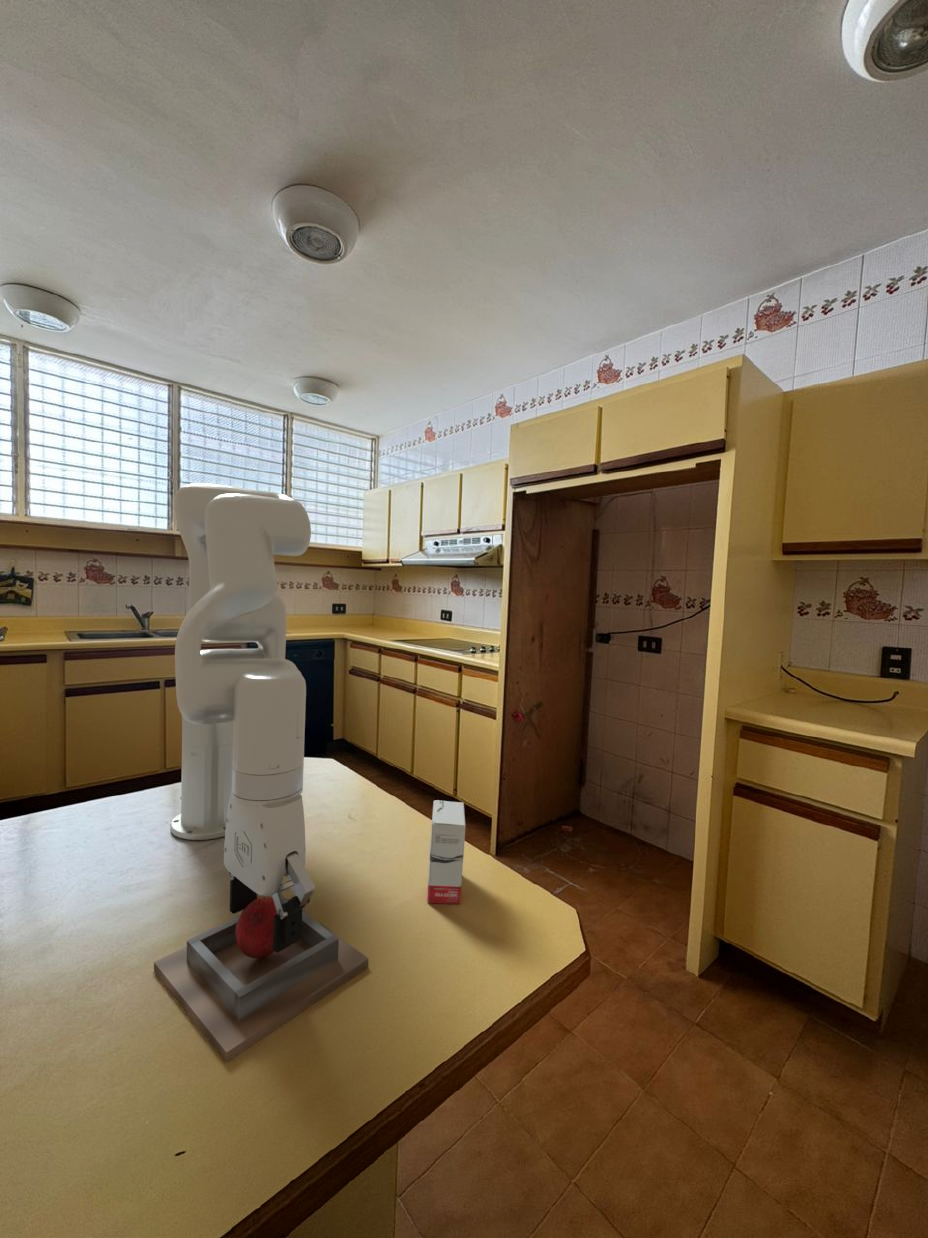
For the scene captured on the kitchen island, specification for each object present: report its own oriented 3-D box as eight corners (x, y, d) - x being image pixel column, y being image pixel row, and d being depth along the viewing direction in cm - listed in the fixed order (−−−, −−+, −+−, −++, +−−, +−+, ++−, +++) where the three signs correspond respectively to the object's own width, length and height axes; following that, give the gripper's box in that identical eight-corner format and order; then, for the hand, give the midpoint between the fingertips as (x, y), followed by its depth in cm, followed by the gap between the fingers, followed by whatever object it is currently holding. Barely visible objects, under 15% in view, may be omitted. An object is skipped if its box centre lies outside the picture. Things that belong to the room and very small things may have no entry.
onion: (270, 981, 58) (272, 911, 58) (223, 970, 59) (225, 901, 59) (297, 946, 64) (299, 882, 63) (254, 937, 65) (256, 874, 64)
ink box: (461, 905, 75) (466, 824, 75) (426, 904, 75) (430, 823, 74) (460, 872, 84) (464, 799, 83) (428, 871, 84) (432, 798, 83)
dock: (153, 970, 60) (154, 941, 60) (287, 905, 73) (288, 880, 73) (226, 1062, 49) (227, 1027, 49) (368, 967, 62) (369, 938, 62)
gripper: (199, 767, 62) (196, 907, 64) (280, 814, 51) (275, 983, 53) (259, 753, 68) (255, 882, 69) (343, 793, 57) (337, 945, 58)
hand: (264, 925), depth 61 cm, fingers open, 9 cm apart
